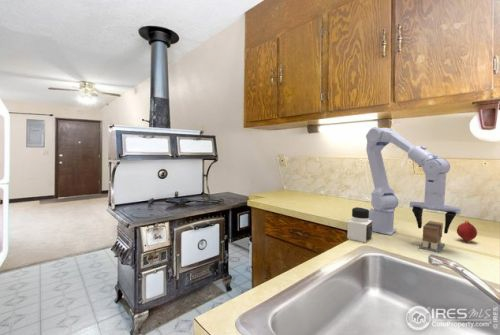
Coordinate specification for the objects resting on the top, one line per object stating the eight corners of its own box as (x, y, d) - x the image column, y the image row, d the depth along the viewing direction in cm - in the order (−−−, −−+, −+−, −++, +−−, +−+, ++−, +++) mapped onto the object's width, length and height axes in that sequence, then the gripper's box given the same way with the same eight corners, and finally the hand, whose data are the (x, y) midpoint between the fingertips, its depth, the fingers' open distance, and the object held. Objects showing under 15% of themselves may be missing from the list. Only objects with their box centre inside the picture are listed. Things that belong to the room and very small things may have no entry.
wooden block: (428, 233, 95) (429, 220, 95) (442, 236, 92) (442, 223, 92) (422, 240, 88) (423, 226, 88) (436, 243, 85) (437, 229, 85)
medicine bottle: (366, 243, 93) (367, 211, 93) (347, 238, 98) (348, 208, 97) (371, 238, 99) (373, 208, 98) (353, 234, 103) (354, 205, 103)
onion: (466, 238, 99) (468, 218, 98) (480, 244, 93) (482, 222, 92) (452, 238, 98) (453, 218, 98) (465, 244, 93) (466, 222, 92)
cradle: (439, 253, 85) (439, 244, 84) (418, 248, 89) (418, 239, 89) (444, 245, 92) (445, 237, 91) (424, 240, 96) (425, 233, 96)
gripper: (408, 191, 91) (406, 227, 92) (459, 196, 81) (456, 238, 82) (413, 189, 96) (411, 223, 97) (462, 194, 86) (459, 233, 87)
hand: (432, 230), depth 90 cm, fingers open, 7 cm apart
